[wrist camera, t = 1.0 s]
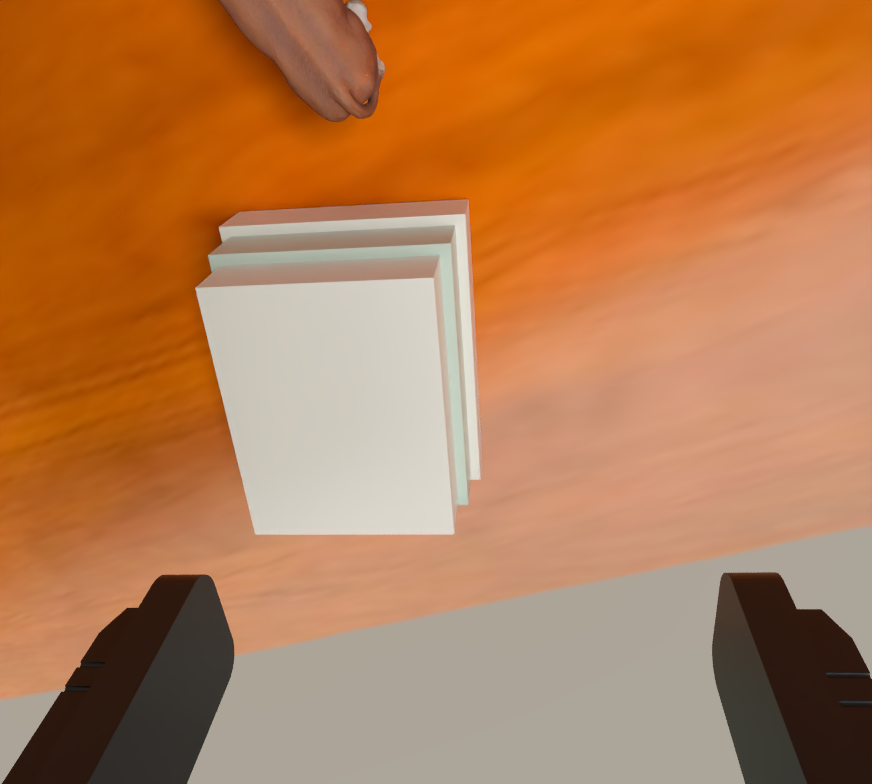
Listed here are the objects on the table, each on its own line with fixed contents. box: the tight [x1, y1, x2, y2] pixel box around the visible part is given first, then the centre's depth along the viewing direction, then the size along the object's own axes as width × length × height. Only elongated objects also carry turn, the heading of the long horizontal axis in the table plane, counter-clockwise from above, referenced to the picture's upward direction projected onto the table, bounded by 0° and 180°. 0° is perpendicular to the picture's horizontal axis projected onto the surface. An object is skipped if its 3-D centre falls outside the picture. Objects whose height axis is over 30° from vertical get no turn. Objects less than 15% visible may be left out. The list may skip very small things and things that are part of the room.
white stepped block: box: [195, 199, 482, 534], centre depth 36 cm, size 15×12×9 cm
